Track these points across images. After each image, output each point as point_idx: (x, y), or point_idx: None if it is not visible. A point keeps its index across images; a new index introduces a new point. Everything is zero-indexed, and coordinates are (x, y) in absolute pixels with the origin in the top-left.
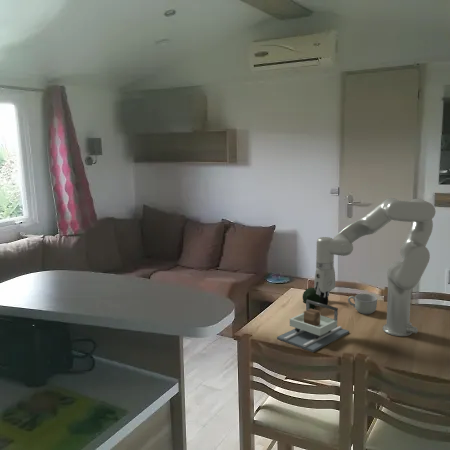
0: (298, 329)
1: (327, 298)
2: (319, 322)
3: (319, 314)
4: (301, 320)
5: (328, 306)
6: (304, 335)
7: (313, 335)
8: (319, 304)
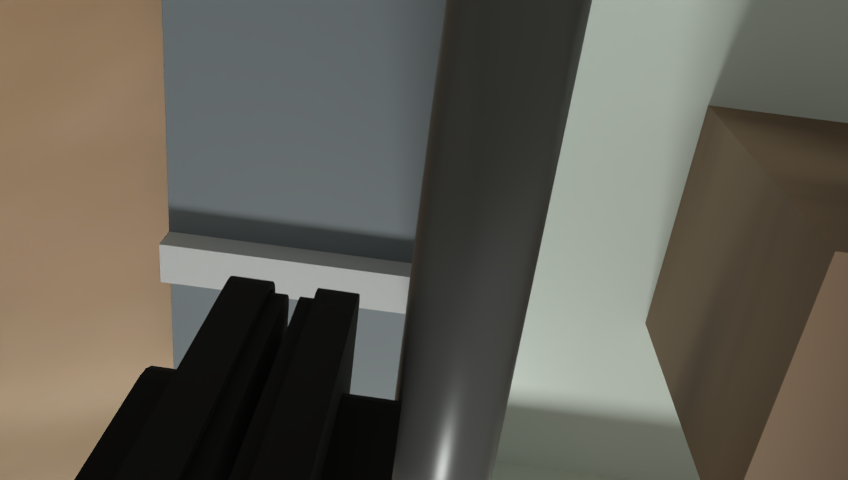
0: None
1: (191, 456)
2: (743, 125)
3: (836, 210)
4: (684, 458)
5: (551, 133)
6: None
7: None
8: (486, 475)
